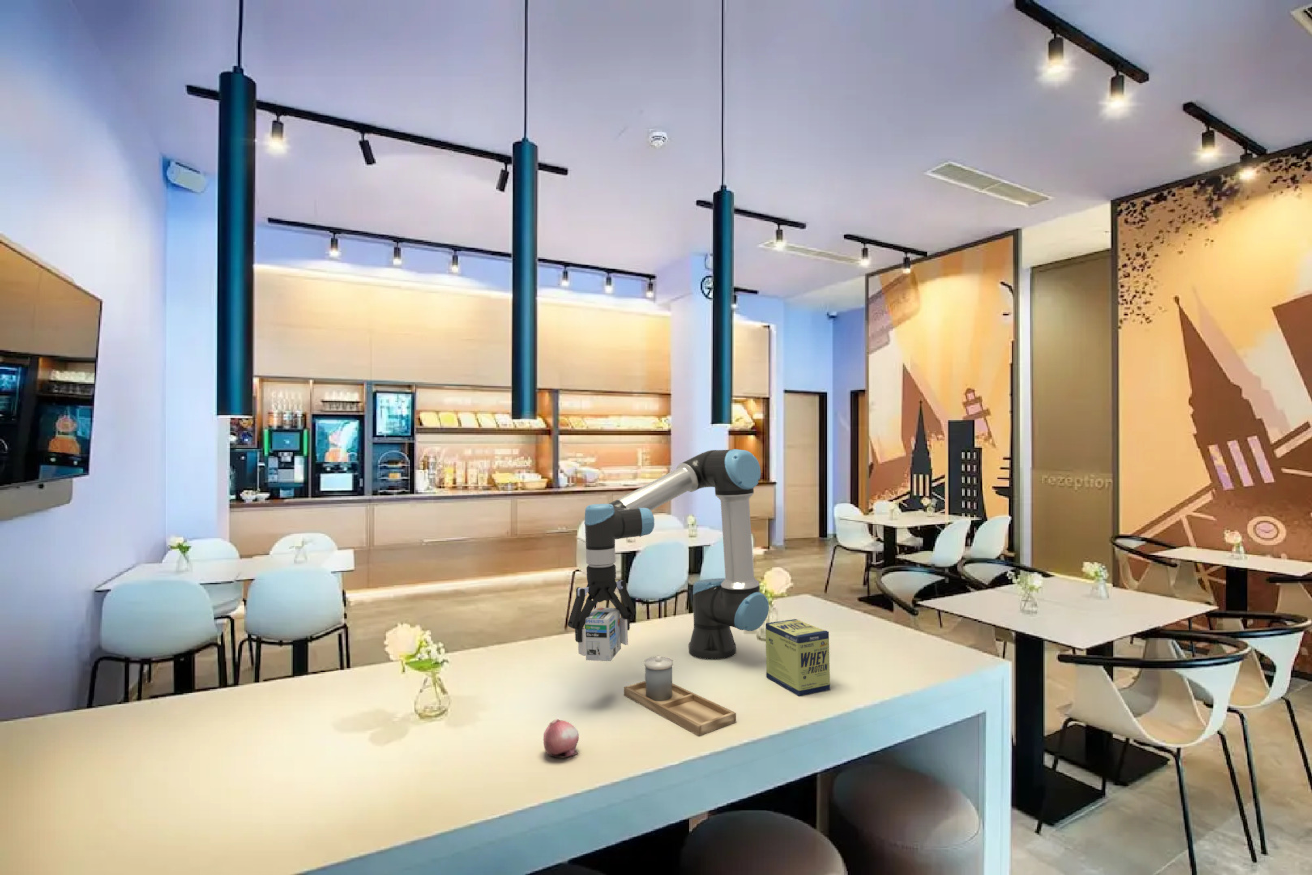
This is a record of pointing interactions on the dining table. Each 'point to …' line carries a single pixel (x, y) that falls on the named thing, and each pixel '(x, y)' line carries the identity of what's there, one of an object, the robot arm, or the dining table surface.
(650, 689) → the slate jar
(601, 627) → the light bulb box
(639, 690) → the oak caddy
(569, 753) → the onion
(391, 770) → the dining table surface
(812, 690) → the protein box
